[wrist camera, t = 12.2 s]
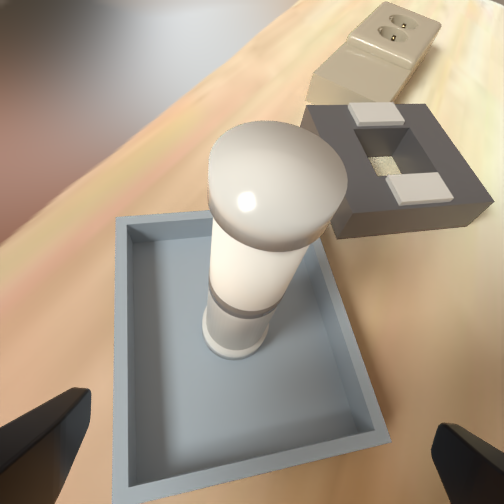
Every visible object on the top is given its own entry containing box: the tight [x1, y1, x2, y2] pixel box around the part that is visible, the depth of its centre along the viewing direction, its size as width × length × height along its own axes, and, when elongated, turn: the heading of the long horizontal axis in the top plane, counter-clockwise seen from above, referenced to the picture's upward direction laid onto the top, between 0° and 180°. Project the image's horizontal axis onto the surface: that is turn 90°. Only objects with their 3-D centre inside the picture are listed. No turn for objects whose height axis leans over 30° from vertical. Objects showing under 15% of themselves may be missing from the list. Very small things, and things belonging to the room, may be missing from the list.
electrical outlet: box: [305, 2, 441, 105], centre depth 35 cm, size 7×4×18 cm
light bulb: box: [202, 121, 348, 361], centre depth 14 cm, size 4×4×12 cm
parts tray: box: [112, 210, 392, 504], centre depth 18 cm, size 14×12×2 cm
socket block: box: [300, 102, 494, 239], centre depth 26 cm, size 11×11×3 cm
